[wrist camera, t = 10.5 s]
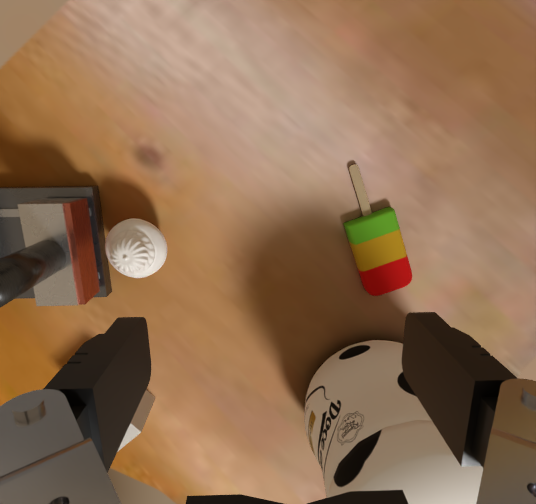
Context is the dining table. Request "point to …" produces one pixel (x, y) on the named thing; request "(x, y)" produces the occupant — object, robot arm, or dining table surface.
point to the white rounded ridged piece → (136, 248)
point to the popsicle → (377, 245)
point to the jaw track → (7, 198)
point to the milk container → (380, 430)
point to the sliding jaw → (52, 254)
